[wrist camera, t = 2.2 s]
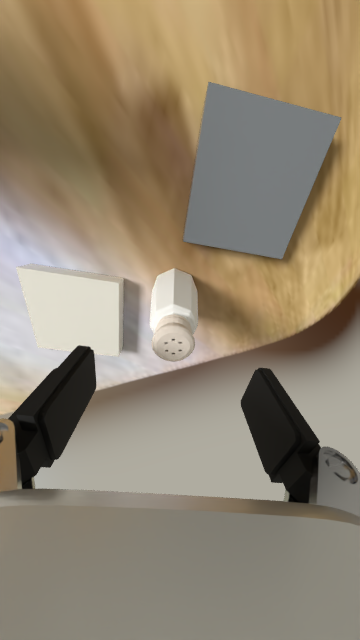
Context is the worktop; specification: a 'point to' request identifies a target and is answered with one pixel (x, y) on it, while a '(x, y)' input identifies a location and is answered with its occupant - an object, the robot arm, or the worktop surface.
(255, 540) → the robot arm
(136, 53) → the worktop surface
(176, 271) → the salt shaker
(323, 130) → the plate
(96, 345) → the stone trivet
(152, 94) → the worktop surface
